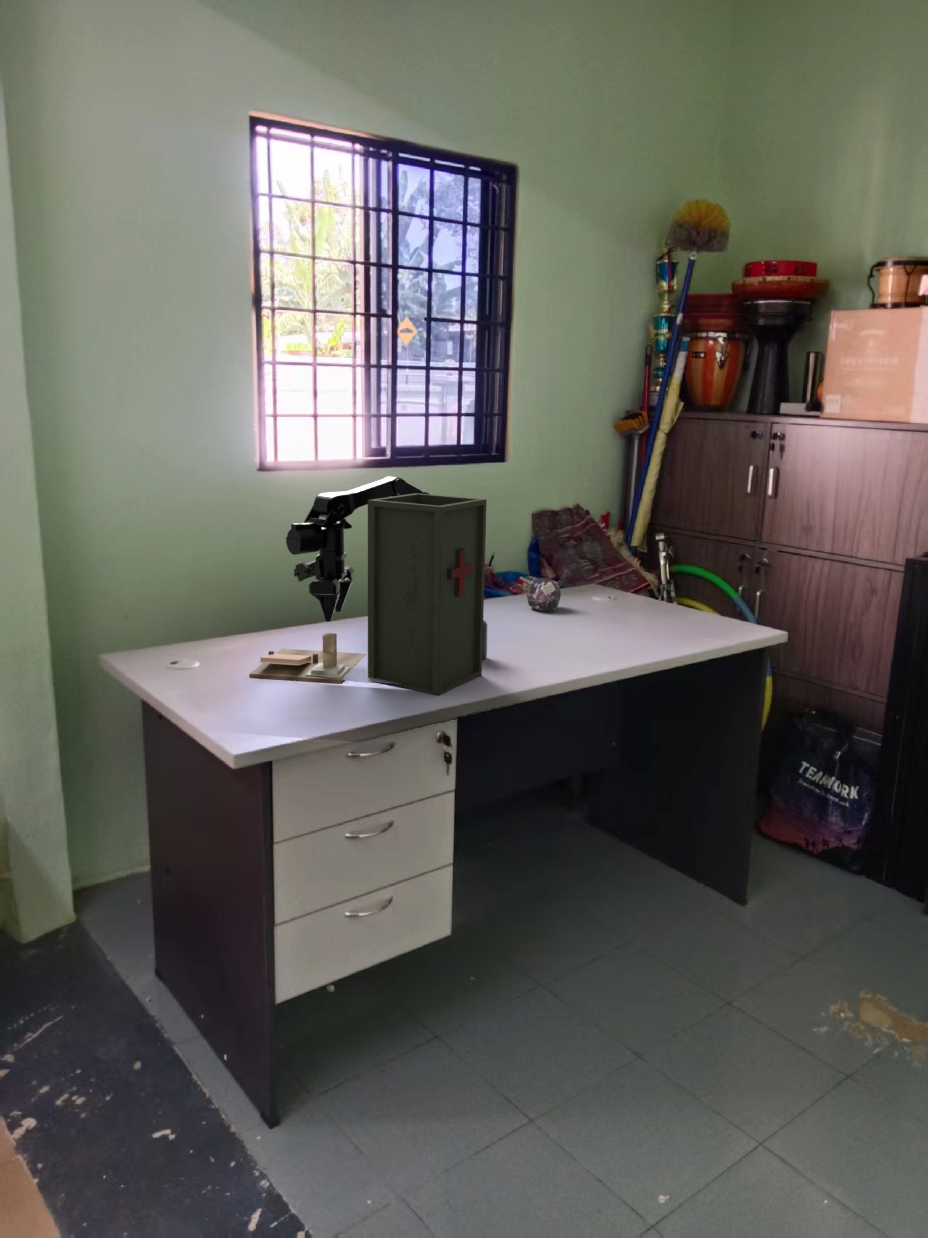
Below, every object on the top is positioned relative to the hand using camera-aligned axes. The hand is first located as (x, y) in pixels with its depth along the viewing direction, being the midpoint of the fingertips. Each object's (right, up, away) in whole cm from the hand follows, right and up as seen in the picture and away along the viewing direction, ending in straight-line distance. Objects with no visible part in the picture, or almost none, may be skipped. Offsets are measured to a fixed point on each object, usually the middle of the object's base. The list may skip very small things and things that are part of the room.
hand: (333, 616), depth 225 cm
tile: (-10, -9, -3) cm, 14 cm away
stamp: (0, -12, -7) cm, 14 cm away
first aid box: (+22, -14, -6) cm, 26 cm away
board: (-5, -12, 0) cm, 13 cm away
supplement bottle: (+32, -10, +11) cm, 36 cm away
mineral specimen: (+54, +2, +65) cm, 84 cm away
